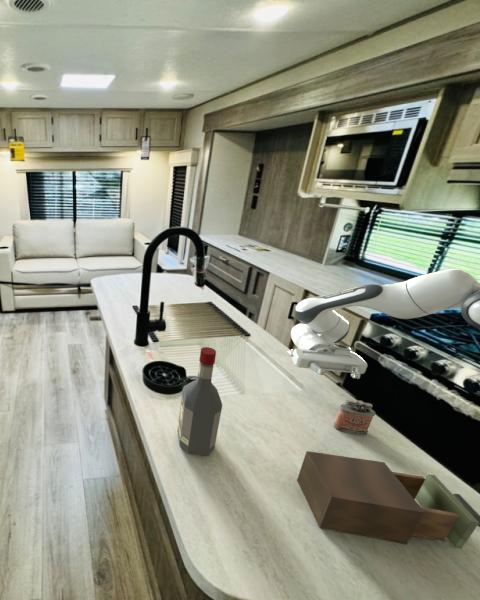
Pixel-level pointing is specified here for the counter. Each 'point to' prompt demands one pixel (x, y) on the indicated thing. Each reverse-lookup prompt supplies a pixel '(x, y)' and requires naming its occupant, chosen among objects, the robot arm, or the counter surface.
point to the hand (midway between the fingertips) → (339, 374)
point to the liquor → (200, 409)
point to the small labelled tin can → (354, 417)
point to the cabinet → (358, 497)
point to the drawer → (440, 510)
